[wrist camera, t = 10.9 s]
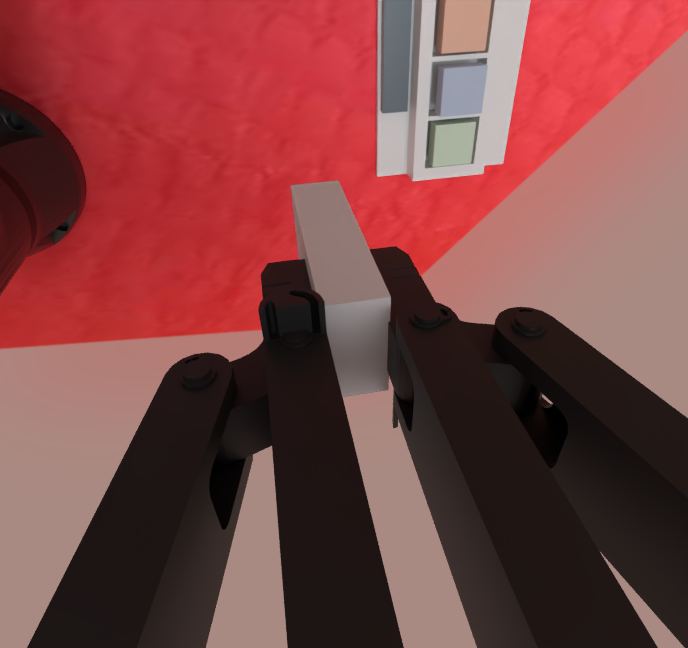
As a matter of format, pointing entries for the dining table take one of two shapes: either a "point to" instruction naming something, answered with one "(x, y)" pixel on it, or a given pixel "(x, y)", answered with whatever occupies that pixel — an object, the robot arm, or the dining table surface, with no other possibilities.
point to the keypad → (421, 82)
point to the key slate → (460, 89)
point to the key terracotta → (462, 25)
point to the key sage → (451, 142)
